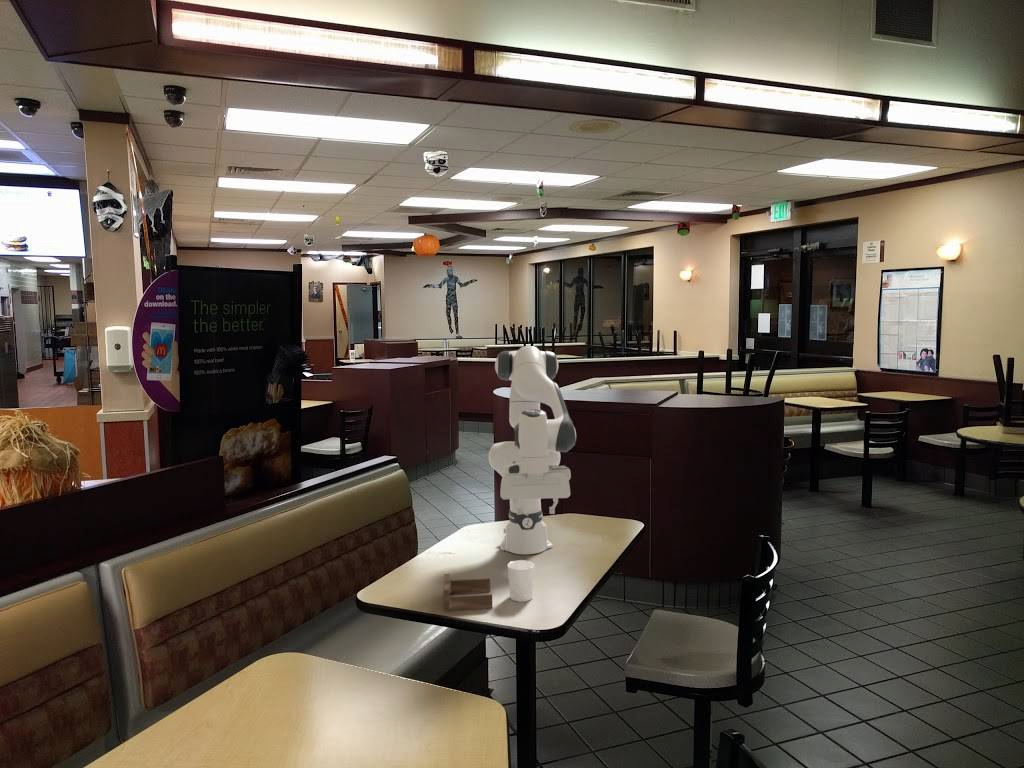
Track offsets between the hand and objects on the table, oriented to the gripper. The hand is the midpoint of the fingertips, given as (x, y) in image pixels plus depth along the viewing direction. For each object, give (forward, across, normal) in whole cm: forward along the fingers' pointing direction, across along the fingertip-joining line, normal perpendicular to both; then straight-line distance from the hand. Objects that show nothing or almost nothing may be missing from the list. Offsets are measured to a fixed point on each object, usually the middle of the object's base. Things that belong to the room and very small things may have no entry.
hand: (535, 513), depth 195 cm
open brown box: (+26, +20, -4) cm, 33 cm away
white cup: (+26, +5, -6) cm, 27 cm away
